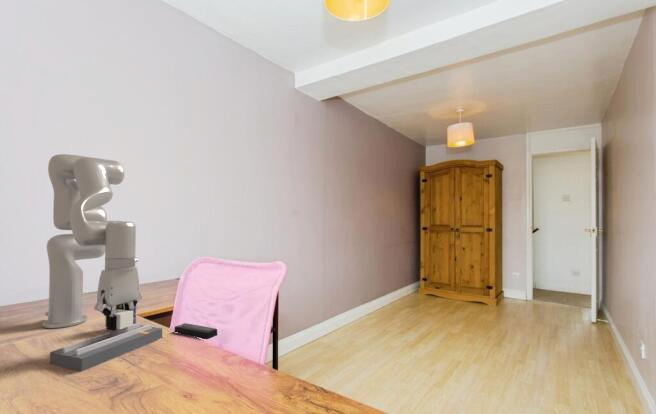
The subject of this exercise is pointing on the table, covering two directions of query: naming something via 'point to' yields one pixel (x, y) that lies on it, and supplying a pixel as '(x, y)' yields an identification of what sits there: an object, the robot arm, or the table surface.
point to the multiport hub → (196, 331)
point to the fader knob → (122, 322)
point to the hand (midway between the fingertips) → (119, 326)
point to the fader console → (104, 347)
